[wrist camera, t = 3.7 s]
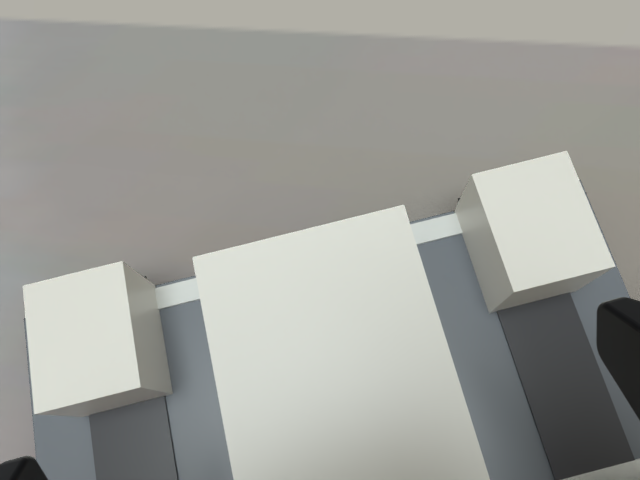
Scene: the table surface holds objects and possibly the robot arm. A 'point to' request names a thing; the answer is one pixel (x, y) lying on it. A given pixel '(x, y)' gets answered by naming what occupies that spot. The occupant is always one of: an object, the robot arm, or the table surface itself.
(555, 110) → the table surface
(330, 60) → the table surface
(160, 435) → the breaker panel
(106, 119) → the table surface
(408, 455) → the block
